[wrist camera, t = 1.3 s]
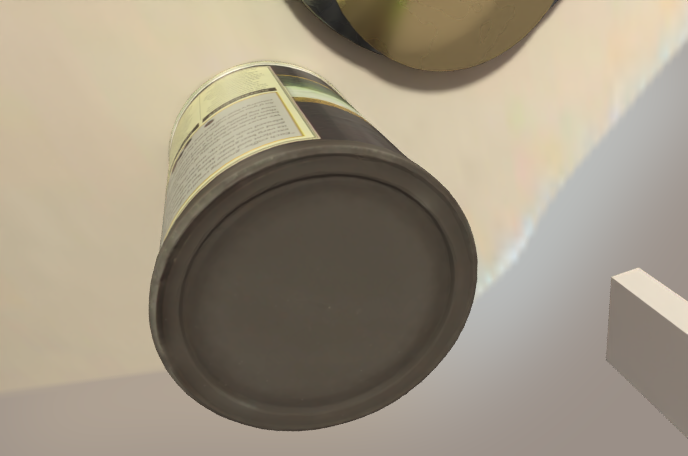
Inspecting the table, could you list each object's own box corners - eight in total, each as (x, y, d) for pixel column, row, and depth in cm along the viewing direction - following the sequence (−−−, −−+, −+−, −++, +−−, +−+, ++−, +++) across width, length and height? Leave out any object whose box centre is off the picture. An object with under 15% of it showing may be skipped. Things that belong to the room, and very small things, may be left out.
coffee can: (366, 58, 28) (504, 139, 16) (356, 237, 33) (457, 408, 20) (155, 58, 26) (124, 155, 13) (176, 252, 30) (167, 456, 18)
